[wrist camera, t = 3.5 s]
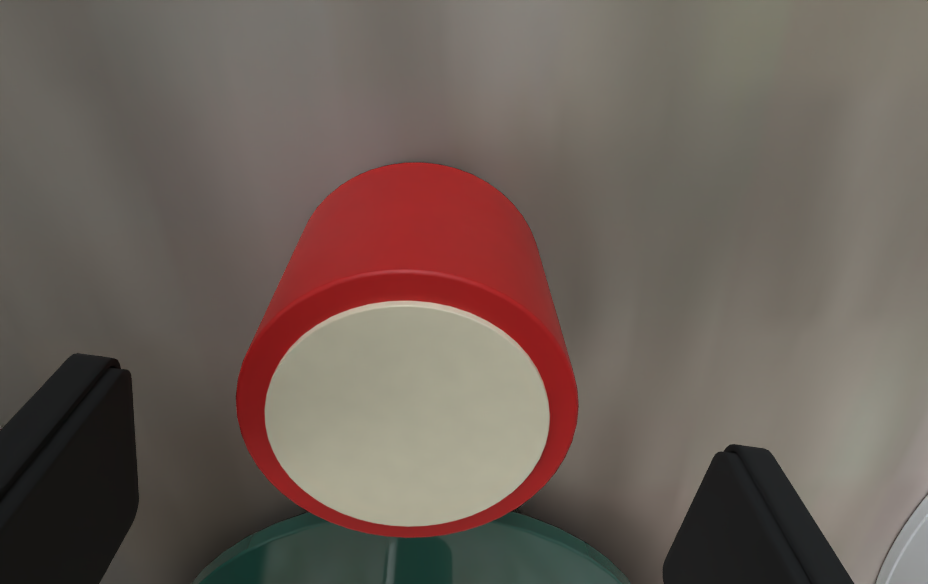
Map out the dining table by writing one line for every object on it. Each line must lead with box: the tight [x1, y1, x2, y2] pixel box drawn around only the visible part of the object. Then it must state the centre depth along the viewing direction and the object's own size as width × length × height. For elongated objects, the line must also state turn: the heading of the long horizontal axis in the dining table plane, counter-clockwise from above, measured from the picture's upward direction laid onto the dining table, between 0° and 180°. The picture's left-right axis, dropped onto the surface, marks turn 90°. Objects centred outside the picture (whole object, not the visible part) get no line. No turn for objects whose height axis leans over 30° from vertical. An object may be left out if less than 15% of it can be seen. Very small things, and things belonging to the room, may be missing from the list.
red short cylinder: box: [236, 163, 579, 538], centre depth 13 cm, size 6×6×5 cm
